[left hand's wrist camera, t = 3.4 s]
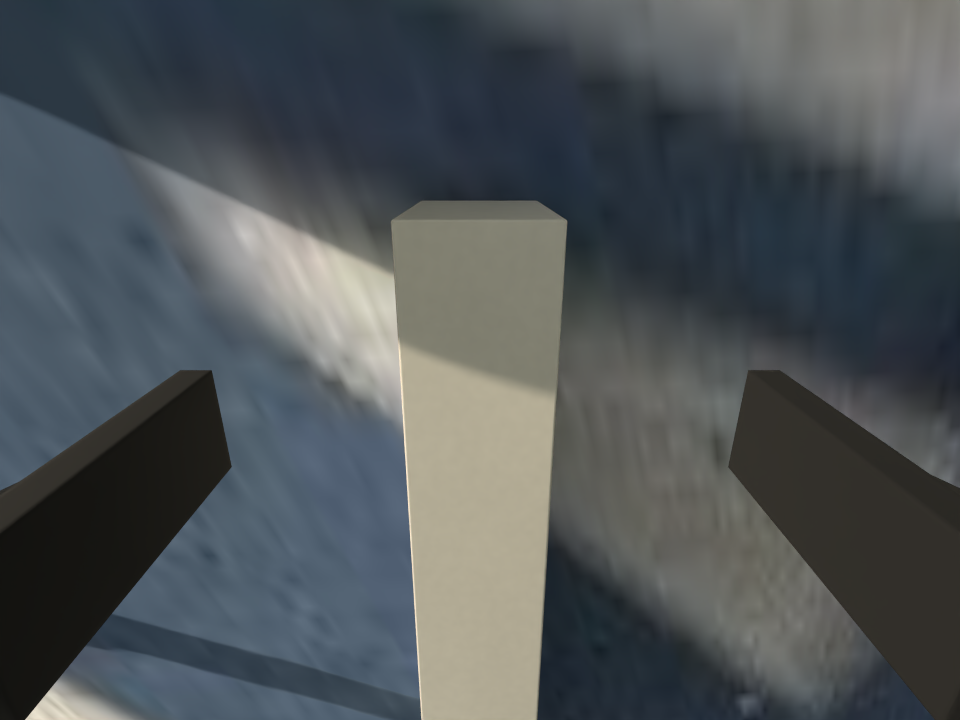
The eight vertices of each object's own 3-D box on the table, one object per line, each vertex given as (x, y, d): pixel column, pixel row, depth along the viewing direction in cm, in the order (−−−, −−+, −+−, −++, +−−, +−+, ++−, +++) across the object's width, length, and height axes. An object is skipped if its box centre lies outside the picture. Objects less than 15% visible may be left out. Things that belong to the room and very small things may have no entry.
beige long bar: (420, 200, 24) (390, 219, 16) (538, 200, 24) (567, 219, 16) (446, 853, 43) (439, 1011, 35) (512, 853, 43) (519, 1011, 35)
